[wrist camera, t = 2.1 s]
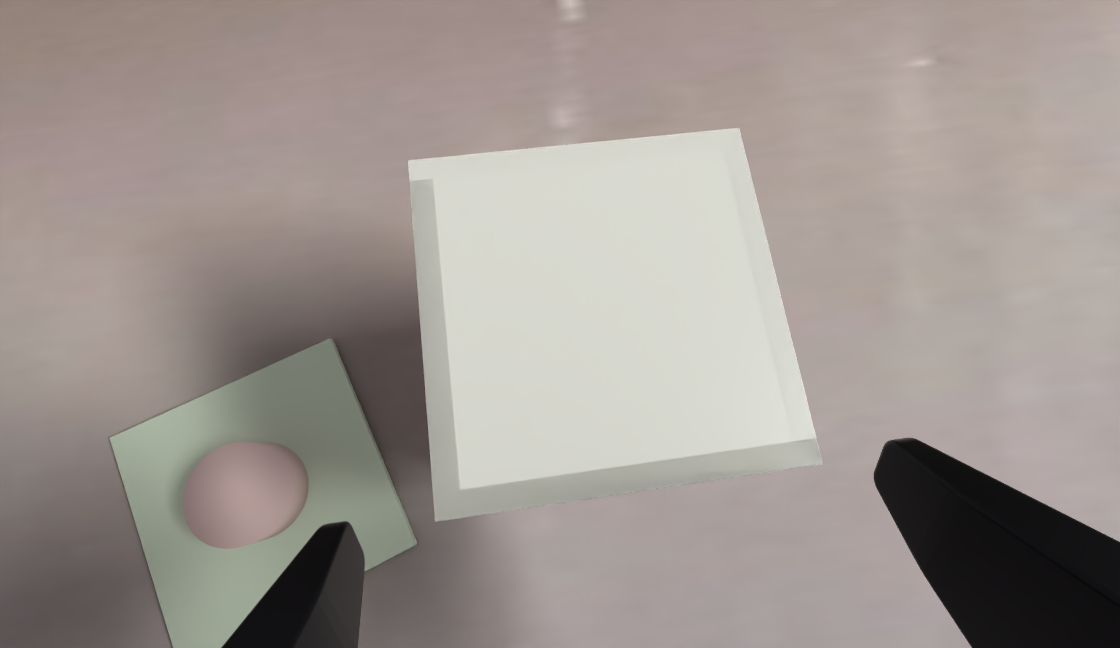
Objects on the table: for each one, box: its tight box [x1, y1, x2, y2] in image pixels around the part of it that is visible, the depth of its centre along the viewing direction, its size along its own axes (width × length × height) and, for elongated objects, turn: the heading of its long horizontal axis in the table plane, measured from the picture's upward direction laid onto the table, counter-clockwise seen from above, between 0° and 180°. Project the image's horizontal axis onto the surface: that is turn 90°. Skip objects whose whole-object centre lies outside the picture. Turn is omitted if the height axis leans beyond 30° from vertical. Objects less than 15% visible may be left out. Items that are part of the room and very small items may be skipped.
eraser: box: [183, 442, 309, 549], centre depth 17 cm, size 3×3×2 cm
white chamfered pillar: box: [408, 128, 823, 522], centre depth 14 cm, size 6×6×11 cm
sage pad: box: [110, 338, 418, 648], centre depth 18 cm, size 8×8×1 cm
